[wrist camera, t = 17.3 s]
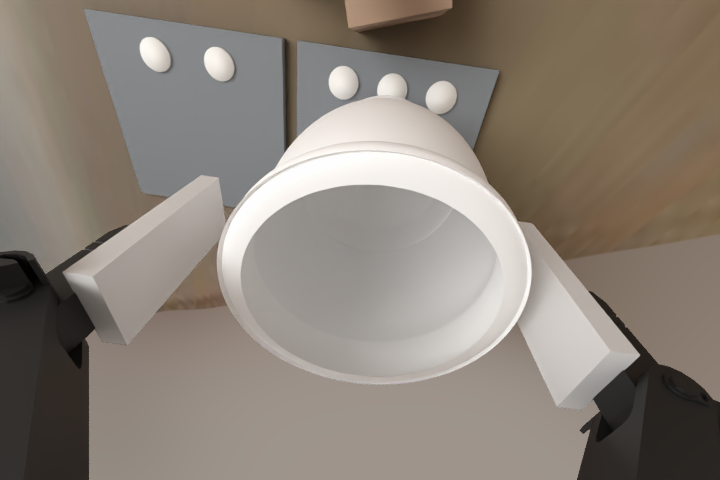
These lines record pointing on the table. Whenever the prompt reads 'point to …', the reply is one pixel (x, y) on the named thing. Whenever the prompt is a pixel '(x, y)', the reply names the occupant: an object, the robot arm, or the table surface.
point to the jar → (375, 250)
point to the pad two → (194, 101)
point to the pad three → (390, 85)
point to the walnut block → (391, 12)
